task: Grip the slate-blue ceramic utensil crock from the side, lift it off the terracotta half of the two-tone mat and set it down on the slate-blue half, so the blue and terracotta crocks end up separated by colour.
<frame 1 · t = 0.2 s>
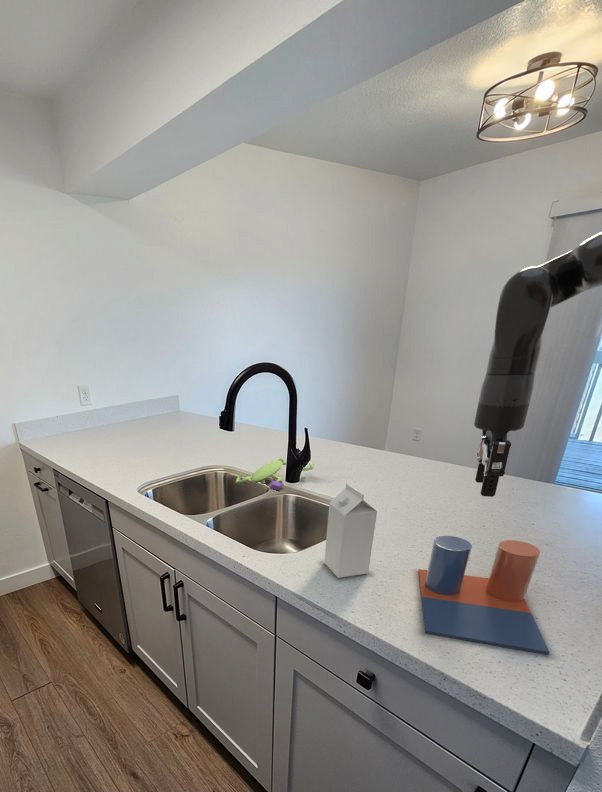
hand: (484, 488, 83), 20 cm above the worktop, tool pointing down, fingers open, 8 cm apart
figurine: (275, 480, 153), on the worktop
blue crock: (442, 586, 88), point 1 cm above the worktop, touching sorting mat
milk carton: (345, 569, 98), on the worktop
sorting mat: (473, 607, 83), on the worktop
terracotta crock: (504, 592, 85), point 1 cm above the worktop, touching sorting mat
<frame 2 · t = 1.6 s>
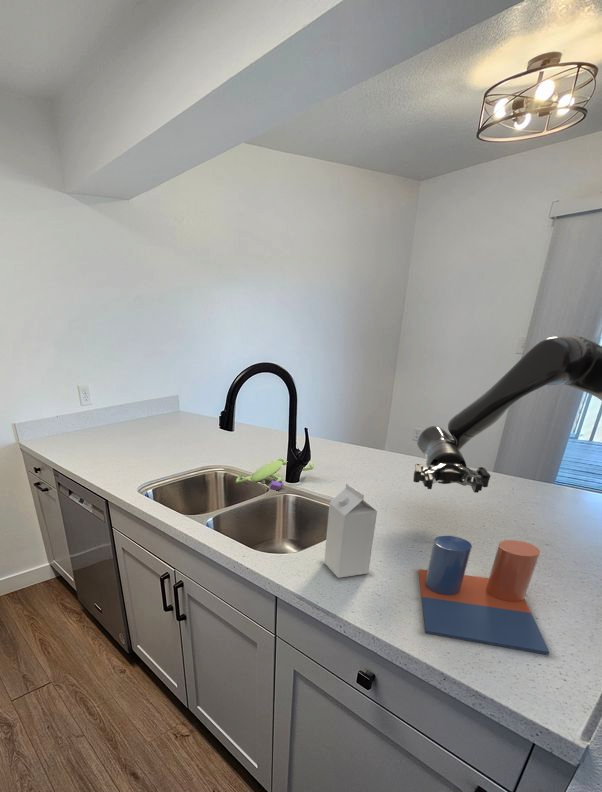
hand: (453, 486, 89), 18 cm above the worktop, tool horizontal, fingers open, 8 cm apart
nothing on the worktop moved.
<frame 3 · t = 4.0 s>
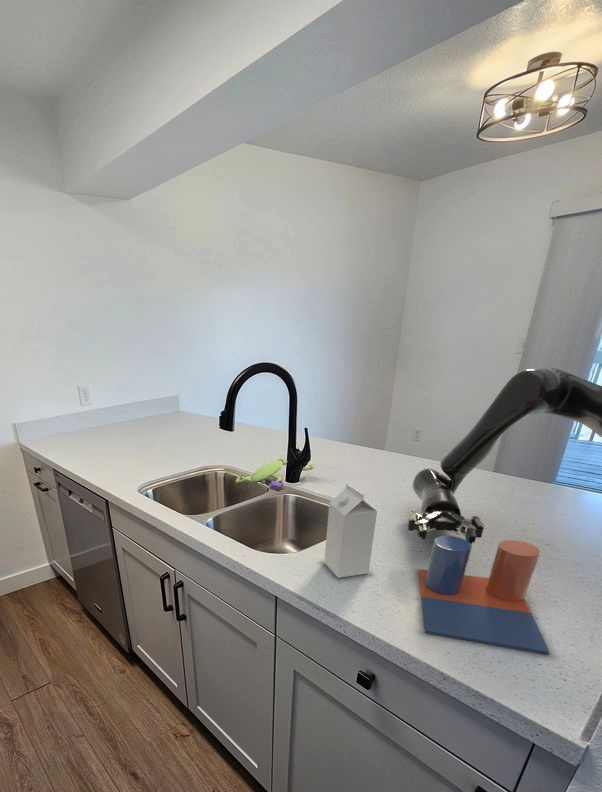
hand: (447, 537, 90), 9 cm above the worktop, tool horizontal, fingers open, 8 cm apart
nothing on the worktop moved.
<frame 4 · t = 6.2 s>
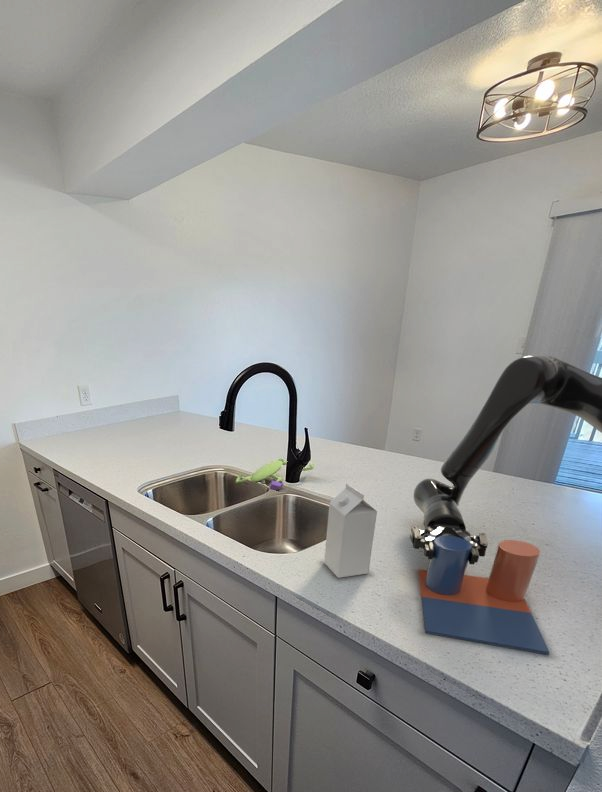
hand: (452, 557, 83), 9 cm above the worktop, tool horizontal, fingers closed on blue crock, 6 cm apart
blue crock: (442, 586, 88), point 1 cm above the worktop, touching gripper, sorting mat
everything else where it was.
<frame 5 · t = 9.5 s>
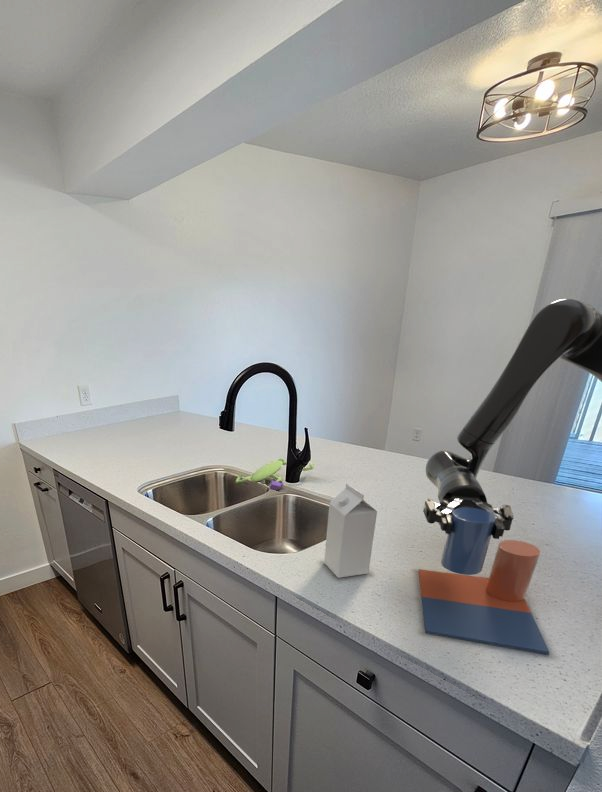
hand: (473, 531, 72), 18 cm above the worktop, tool horizontal, fingers closed on blue crock, 6 cm apart
blue crock: (460, 565, 78), point 10 cm above the worktop, touching gripper
everything else where it was.
when the fingers open (9 cm above the worktop, at t = 13.1 s): blue crock stays where it is, resting on sorting mat.
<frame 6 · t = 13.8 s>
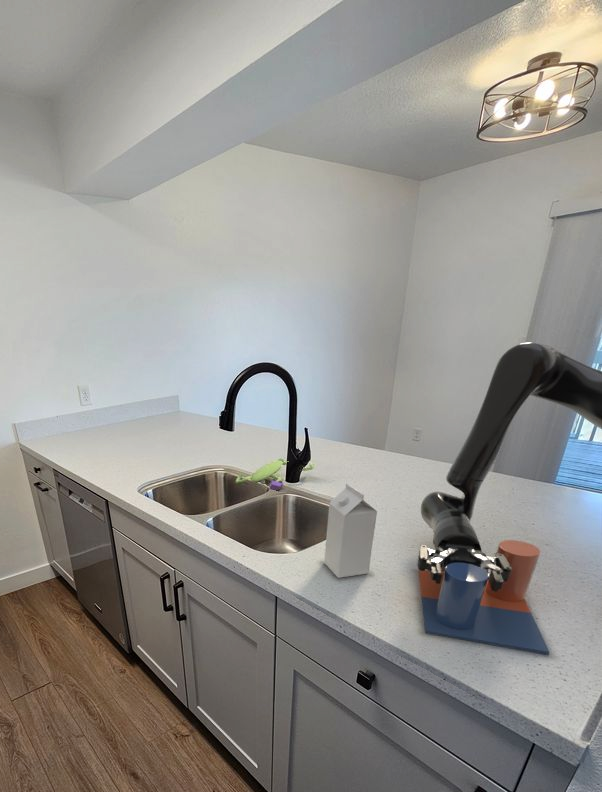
hand: (467, 583, 73), 9 cm above the worktop, tool horizontal, fingers open, 8 cm apart
blue crock: (454, 618, 79), point 1 cm above the worktop, touching sorting mat
everything else where it was.
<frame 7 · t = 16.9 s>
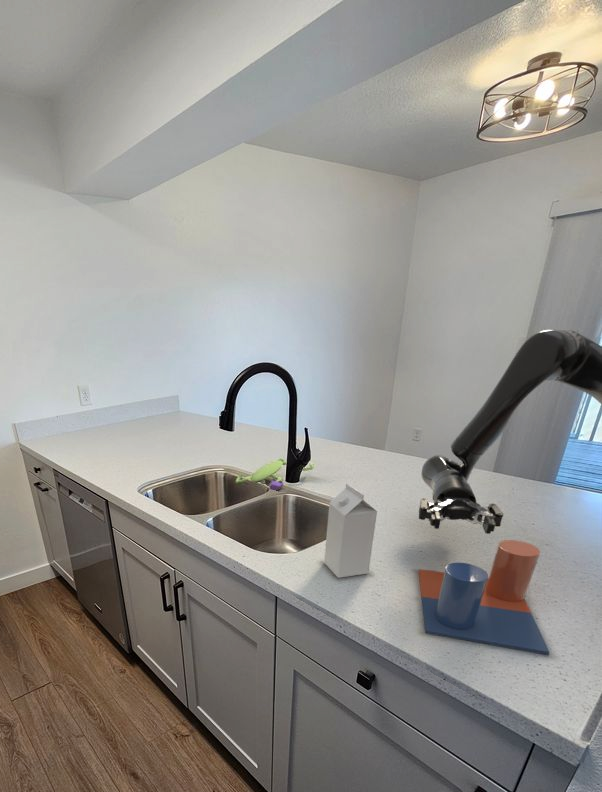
hand: (463, 526, 82), 14 cm above the worktop, tool horizontal, fingers open, 8 cm apart
nothing on the worktop moved.
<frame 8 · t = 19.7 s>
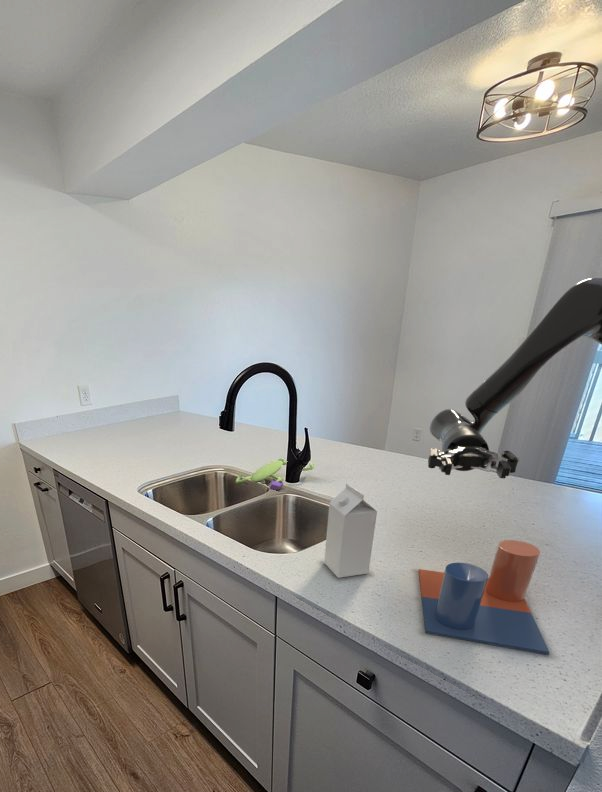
hand: (476, 471, 77), 25 cm above the worktop, tool horizontal, fingers open, 8 cm apart
nothing on the worktop moved.
at the end: blue crock inside the target area (0.6 cm from its centre), point 0.6 cm above the worktop; blue crock tilted 0°; terracotta crock moved 0.0 cm from its start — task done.
